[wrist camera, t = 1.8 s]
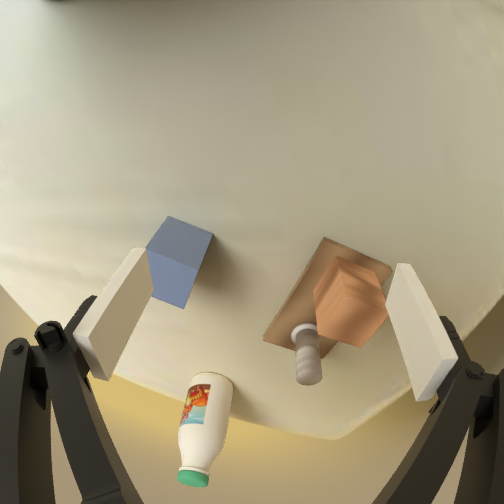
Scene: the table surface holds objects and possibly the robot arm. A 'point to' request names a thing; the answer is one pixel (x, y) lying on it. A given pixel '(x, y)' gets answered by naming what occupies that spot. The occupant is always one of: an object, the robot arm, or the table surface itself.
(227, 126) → the table surface
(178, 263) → the slate blue cube
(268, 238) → the table surface
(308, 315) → the organizer
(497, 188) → the table surface
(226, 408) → the milk bottle
